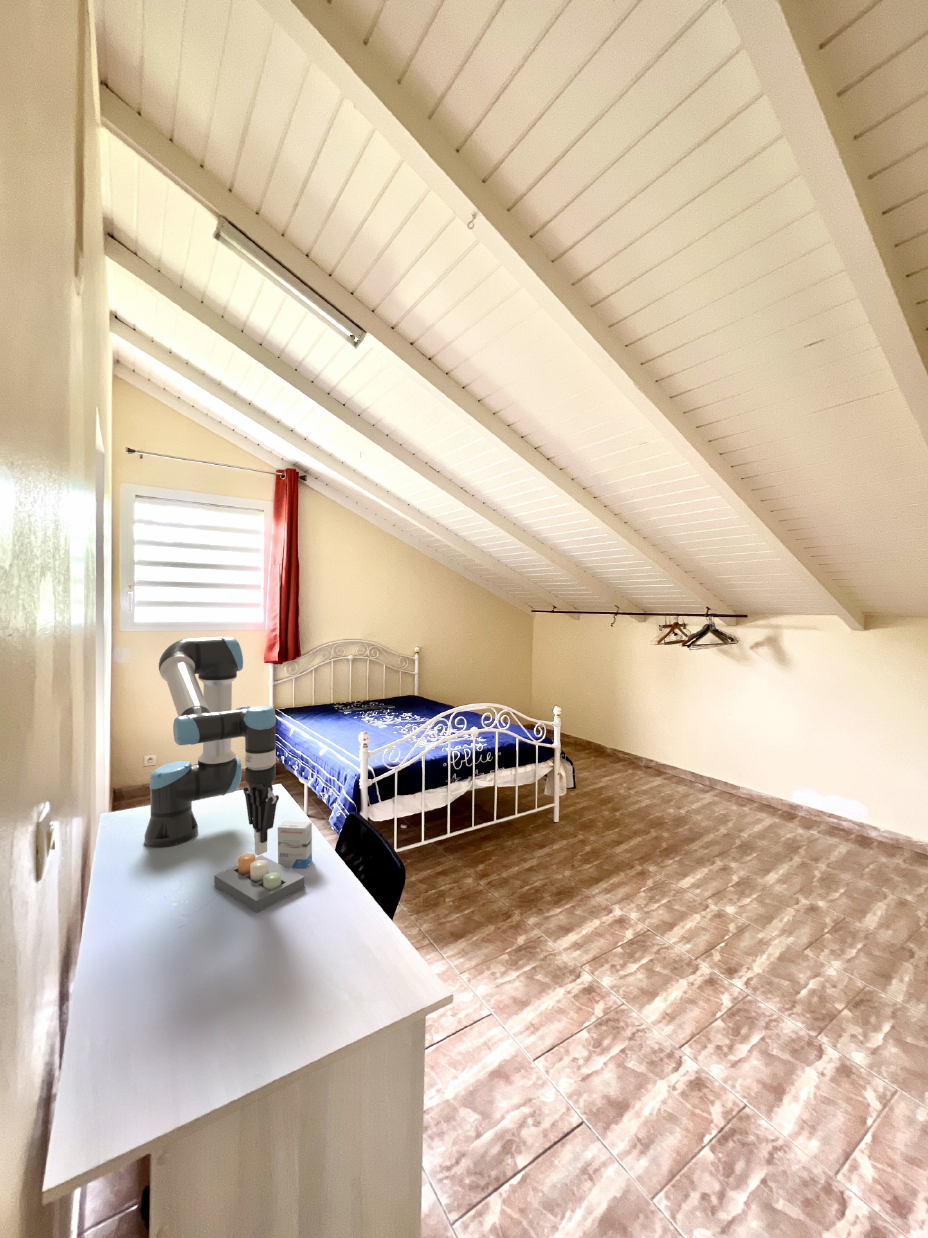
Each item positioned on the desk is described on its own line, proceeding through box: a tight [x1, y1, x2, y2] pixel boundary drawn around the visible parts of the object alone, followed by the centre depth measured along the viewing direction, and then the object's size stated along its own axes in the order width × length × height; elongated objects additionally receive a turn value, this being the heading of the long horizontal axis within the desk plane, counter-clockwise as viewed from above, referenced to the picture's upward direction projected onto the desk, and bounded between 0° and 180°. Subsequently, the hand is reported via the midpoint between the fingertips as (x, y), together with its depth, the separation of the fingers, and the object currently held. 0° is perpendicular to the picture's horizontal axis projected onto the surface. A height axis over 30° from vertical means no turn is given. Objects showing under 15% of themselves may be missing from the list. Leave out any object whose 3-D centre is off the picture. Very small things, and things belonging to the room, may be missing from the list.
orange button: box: [237, 853, 256, 876], centre depth 143 cm, size 4×4×4 cm
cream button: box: [250, 860, 268, 883], centre depth 140 cm, size 4×4×4 cm
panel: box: [213, 854, 306, 914], centre depth 140 cm, size 20×14×3 cm
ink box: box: [277, 820, 313, 869], centre depth 152 cm, size 8×5×12 cm, turn 84°
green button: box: [263, 872, 281, 891], centre depth 136 cm, size 4×4×4 cm
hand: (261, 852), depth 139 cm, fingers closed
